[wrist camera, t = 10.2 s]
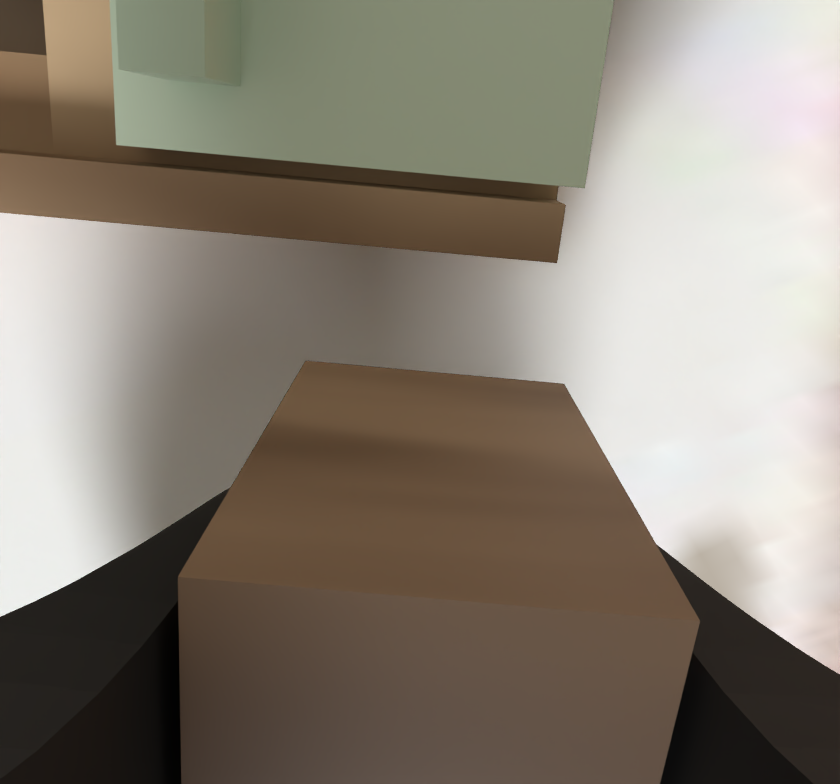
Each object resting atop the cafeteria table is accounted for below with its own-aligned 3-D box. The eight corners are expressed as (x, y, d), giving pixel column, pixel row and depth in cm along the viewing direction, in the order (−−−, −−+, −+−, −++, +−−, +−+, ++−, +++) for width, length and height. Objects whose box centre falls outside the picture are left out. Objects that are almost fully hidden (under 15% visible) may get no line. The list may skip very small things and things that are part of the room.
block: (528, 604, 13) (610, 982, 7) (295, 585, 12) (184, 948, 7) (563, 384, 11) (700, 621, 6) (305, 360, 11) (178, 576, 6)
